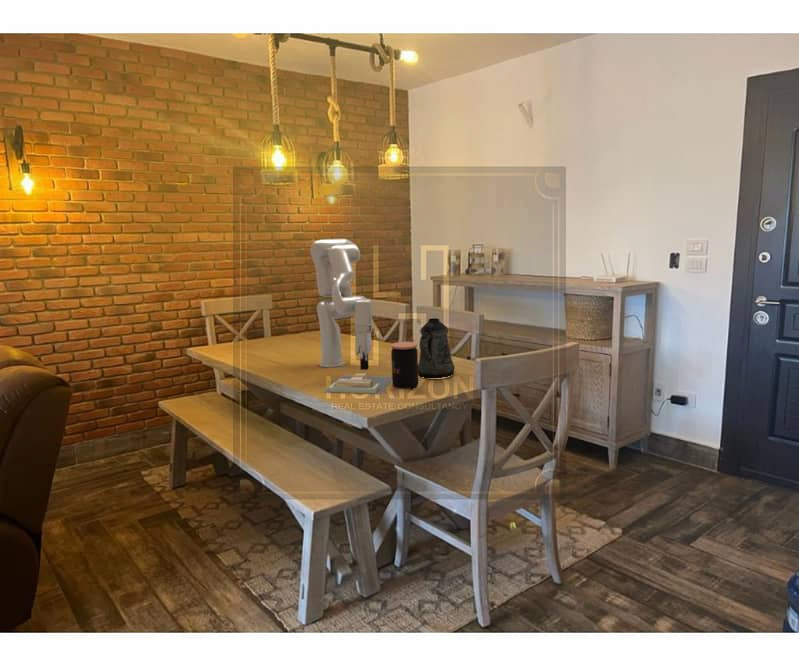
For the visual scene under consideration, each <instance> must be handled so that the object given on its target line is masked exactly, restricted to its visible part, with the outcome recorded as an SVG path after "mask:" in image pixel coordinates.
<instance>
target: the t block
mask: <svg viewBox="0 0 799 666" xmlns="http://www.w3.org/2000/svg"><path fill="white" fill-rule="evenodd" d="M352 376H353V377H352V378H351V379H338V378H337V379H338V380H337V379H336V380H337V381H336V380H335V381H336V387H361V388H373V380H367V376H368V375H367V373H356V372H355V374H354V375H352Z"/></svg>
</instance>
